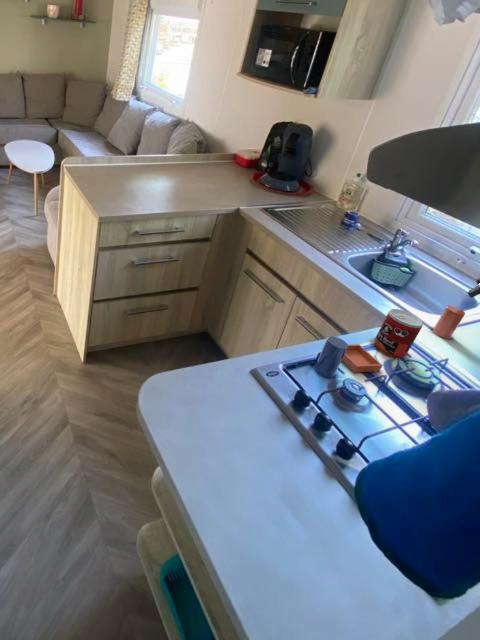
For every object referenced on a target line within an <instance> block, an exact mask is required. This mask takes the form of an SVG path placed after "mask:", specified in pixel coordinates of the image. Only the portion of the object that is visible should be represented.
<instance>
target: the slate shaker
mask: <svg viewBox="0 0 480 640" xmlns="http://www.w3.org/2000/svg"><path fill="white" fill-rule="evenodd" d="M348 345H349V344H348V343H347V342H346V341H345V340H343V339H342V338H340V337H338V336H335V335H330V336H328V337H327V338H326V341H325V342H324V345H323V347H322V349H321V352H320V354H319V355H318V357H317V360H316V362H315V365H314V369H315V370H316V372H317V373H318V374H320V375H321V376H323V377H326V378H334V377H335V376H336V373H337V371H338V369H339V367H340V365H341V363H342V362H343V361H342V359H343V357H344V355H345V353H346V351H347V349H348Z"/></svg>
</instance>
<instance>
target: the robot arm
mask: <svg viewBox="0 0 480 640" xmlns="http://www.w3.org/2000/svg"><path fill="white" fill-rule="evenodd" d="M475 282H476V286H475V287H472V288H470V289H469V290H468V291H467V295H468V297H469V298H471V299H473V298H475V297H477V296H479V295H480V277H478V278H476V279H475Z"/></svg>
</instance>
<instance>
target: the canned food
mask: <svg viewBox="0 0 480 640" xmlns="http://www.w3.org/2000/svg"><path fill="white" fill-rule="evenodd" d="M423 326H424V322H423V320H422V319H421V318H419V317H418V316H417V315H415V314H412V313H411V312H408V311H406V310H403V309H399V308H391V309H389V311H388V313H387V314H386V316H385V318H384V320H383V322H382V324H381V326H380V328H379V330H378V332H377V334H376V336H375V338H374V341H373V343H374V344H373V345H374V346H375V347H376V349H378V350H379V351H380V352H381V353H383V354H385V355H387V356H389V357H391V358H396V359H397V358H398V359H400V358H399V357H402V358H405V356H407V355H408V353H409V352H410V349H411V347H412V346H413V344H414V342H415V341H416V339H417V337H418V335H419V334H420V332H421V331H422V328H423Z"/></svg>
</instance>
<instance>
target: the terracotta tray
mask: <svg viewBox="0 0 480 640" xmlns="http://www.w3.org/2000/svg"><path fill="white" fill-rule="evenodd" d="M341 362H343V363H344V364H345V365H346V366H347V367H348V368H349V369H350V370H351V371H352V372H353V373H371V372H373V373H374V372H380V371H381V369H382V368H383V364H382V363H381V362H380V361H379V360H378V359H376V358H375V357H374V356H373V355H372V354H371V353H370V352H369V351H367V350H366V349H365V348H364V347H363V346H362V345H361V344H360V343H358V344H357V343H356V344H355V343H354V344H352V343H351V344H348V349H347V351H346V353H345V355H344V357H343V359H342V361H341Z"/></svg>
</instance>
